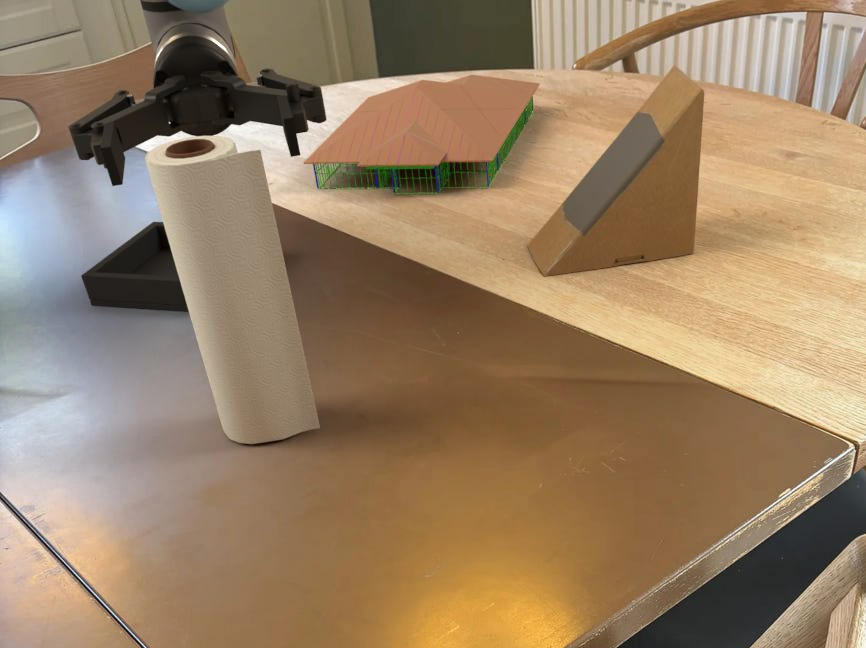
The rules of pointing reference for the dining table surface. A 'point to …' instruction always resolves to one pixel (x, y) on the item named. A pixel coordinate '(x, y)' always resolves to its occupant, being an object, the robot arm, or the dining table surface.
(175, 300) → the roll dock
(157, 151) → the paper towel roll
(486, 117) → the house
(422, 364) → the dining table surface
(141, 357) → the dining table surface
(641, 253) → the sandwich container
